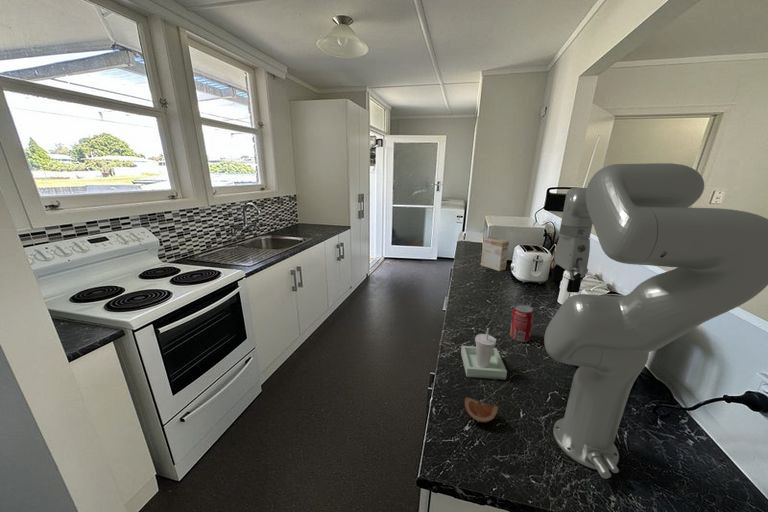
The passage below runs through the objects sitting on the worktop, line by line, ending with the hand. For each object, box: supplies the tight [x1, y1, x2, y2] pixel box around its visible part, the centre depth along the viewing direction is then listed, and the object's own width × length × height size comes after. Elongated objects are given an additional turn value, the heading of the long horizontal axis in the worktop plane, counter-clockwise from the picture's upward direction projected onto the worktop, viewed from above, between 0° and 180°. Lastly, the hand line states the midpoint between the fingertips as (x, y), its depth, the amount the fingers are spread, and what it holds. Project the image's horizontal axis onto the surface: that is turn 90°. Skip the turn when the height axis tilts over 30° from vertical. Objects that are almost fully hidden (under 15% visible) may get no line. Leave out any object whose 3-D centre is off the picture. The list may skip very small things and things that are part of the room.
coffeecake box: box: [480, 236, 510, 272], centre depth 184 cm, size 15×7×20 cm, turn 32°
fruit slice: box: [463, 396, 499, 423], centre depth 72 cm, size 8×7×5 cm
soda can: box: [509, 303, 535, 343], centre depth 105 cm, size 7×7×13 cm
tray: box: [460, 345, 508, 380], centre depth 92 cm, size 12×12×3 cm
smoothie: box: [474, 327, 497, 368], centre depth 89 cm, size 6×6×14 cm
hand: (564, 285), depth 85 cm, fingers open, 9 cm apart
